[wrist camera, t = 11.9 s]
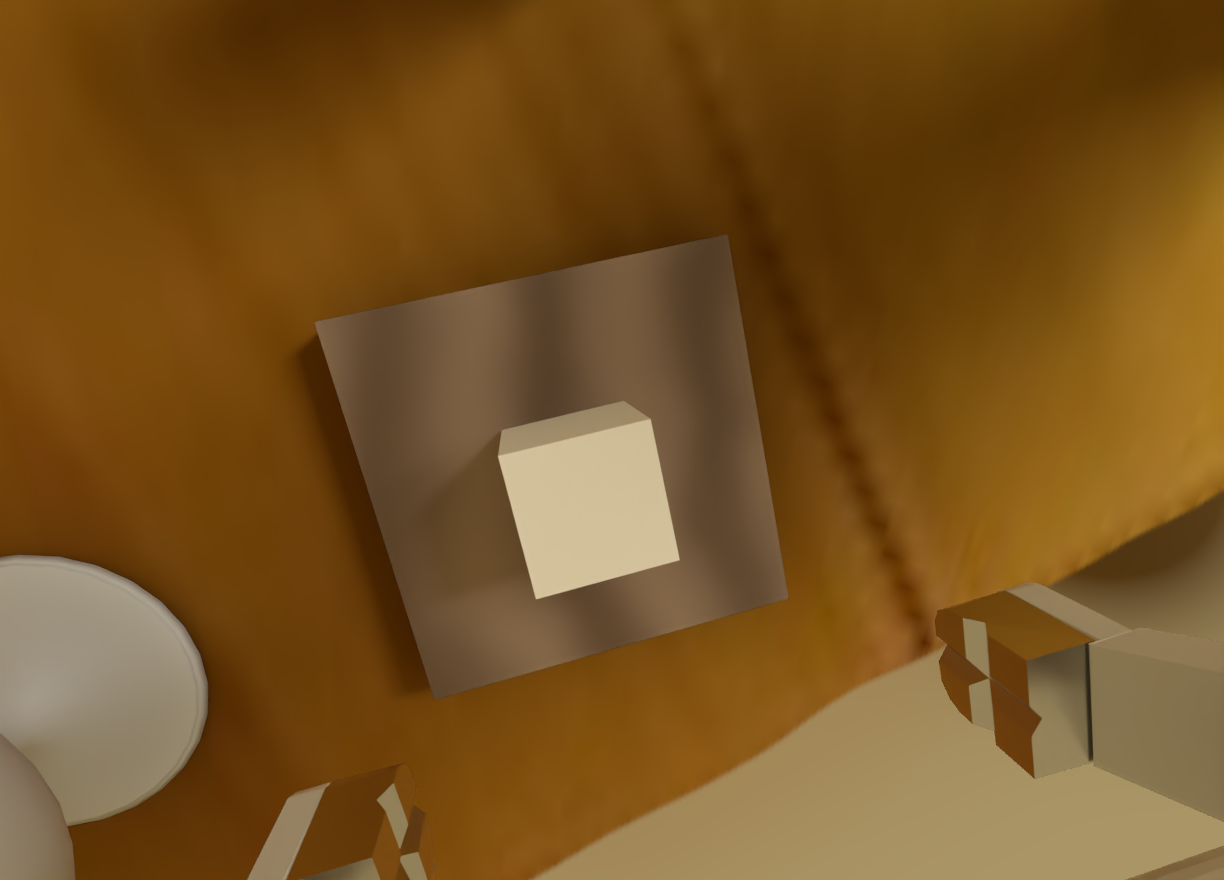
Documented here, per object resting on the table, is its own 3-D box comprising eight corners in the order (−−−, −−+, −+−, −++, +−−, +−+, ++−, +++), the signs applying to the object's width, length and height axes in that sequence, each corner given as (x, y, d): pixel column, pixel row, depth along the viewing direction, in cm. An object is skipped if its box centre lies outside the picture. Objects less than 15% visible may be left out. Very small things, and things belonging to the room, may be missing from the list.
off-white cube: (623, 400, 24) (650, 418, 19) (648, 515, 25) (679, 560, 20) (502, 430, 24) (497, 456, 19) (532, 546, 25) (535, 599, 20)
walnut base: (711, 241, 26) (727, 234, 24) (770, 580, 29) (788, 598, 27) (330, 322, 24) (314, 322, 22) (440, 673, 27) (434, 700, 25)
